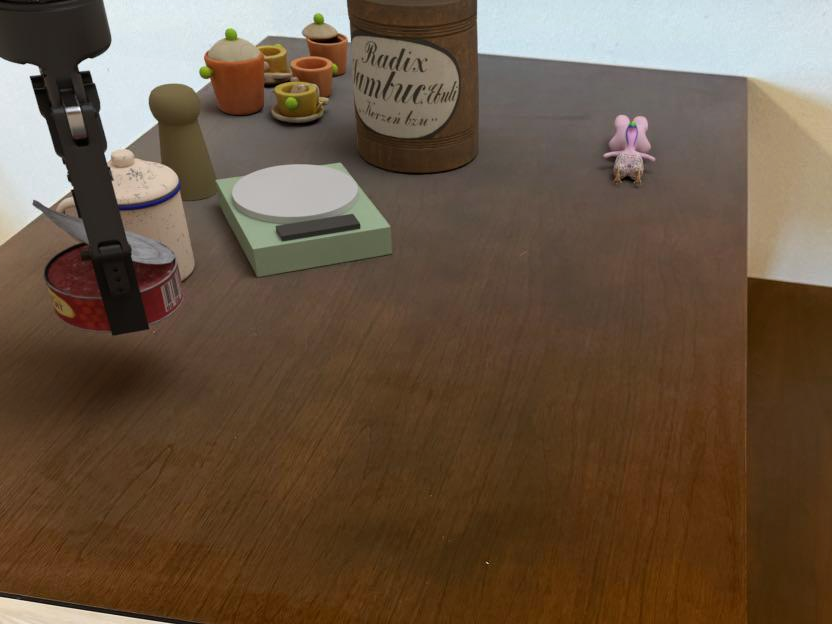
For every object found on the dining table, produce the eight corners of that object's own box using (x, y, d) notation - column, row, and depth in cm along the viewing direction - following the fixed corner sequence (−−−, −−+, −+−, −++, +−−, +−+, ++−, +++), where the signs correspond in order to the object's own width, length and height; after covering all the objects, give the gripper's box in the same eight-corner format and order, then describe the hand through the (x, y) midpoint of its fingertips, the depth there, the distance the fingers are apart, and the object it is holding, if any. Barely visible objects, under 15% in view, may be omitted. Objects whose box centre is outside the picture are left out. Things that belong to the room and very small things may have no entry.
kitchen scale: (220, 206, 106) (213, 172, 103) (343, 188, 110) (340, 155, 108) (257, 277, 95) (251, 241, 92) (392, 254, 99) (390, 218, 97)
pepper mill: (194, 173, 112) (175, 73, 104) (230, 187, 109) (213, 86, 102) (152, 190, 108) (128, 87, 101) (188, 205, 106) (167, 101, 98)
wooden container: (338, 163, 115) (319, -47, 100) (385, 120, 126) (374, -76, 111) (455, 182, 113) (453, -31, 98) (493, 137, 123) (497, -62, 108)
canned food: (87, 330, 82) (62, 207, 79) (205, 320, 82) (184, 196, 79) (25, 341, 71) (-7, 198, 68) (161, 330, 71) (135, 186, 68)
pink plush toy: (652, 198, 115) (654, 131, 124) (659, 152, 110) (660, 85, 119) (599, 194, 115) (605, 127, 124) (604, 148, 110) (609, 82, 119)
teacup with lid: (205, 249, 99) (182, 134, 91) (187, 294, 92) (161, 174, 84) (85, 248, 98) (52, 131, 90) (59, 293, 91) (19, 171, 83)
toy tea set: (318, 131, 122) (310, 50, 116) (199, 122, 123) (184, 40, 116) (364, 65, 141) (359, -8, 135) (260, 57, 142) (250, -16, 135)
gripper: (125, 33, 55) (196, 361, 71) (77, -63, 70) (144, 227, 85) (-17, 44, 53) (88, 382, 68) (-37, -57, 67) (54, 240, 83)
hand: (119, 296), depth 77 cm, fingers closed on canned food, 10 cm apart
